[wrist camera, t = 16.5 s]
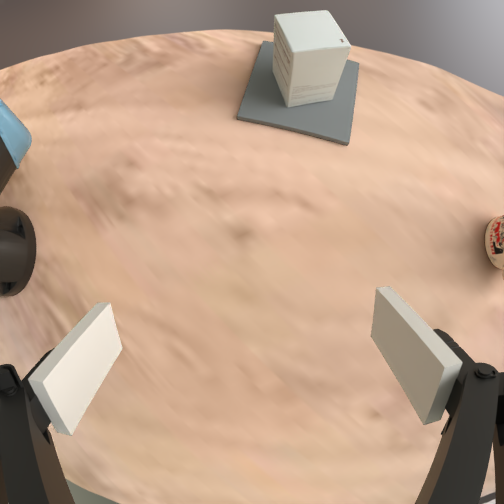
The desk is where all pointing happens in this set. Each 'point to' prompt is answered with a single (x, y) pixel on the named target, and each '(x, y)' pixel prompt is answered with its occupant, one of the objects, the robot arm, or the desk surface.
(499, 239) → the teacup with lid
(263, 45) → the slate mat
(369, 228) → the desk surface
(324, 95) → the supplement box
